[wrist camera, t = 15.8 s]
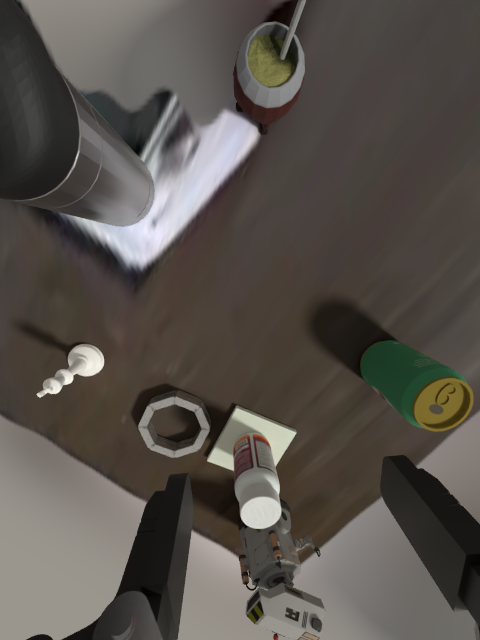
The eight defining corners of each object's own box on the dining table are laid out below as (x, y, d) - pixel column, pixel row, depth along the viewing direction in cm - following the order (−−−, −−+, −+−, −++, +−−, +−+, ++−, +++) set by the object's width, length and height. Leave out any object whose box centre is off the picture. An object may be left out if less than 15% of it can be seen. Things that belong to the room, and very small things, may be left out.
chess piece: (110, 365, 39) (72, 403, 29) (83, 379, 39) (35, 421, 29) (91, 338, 37) (44, 367, 28) (63, 353, 38) (6, 387, 28)
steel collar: (135, 433, 42) (130, 442, 40) (159, 381, 40) (155, 388, 38) (192, 455, 43) (191, 464, 41) (219, 406, 41) (218, 413, 39)
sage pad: (207, 457, 44) (207, 460, 43) (236, 404, 41) (236, 407, 41) (264, 478, 45) (265, 482, 44) (295, 429, 43) (296, 432, 42)
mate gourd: (236, 141, 32) (243, 48, 18) (228, 64, 30) (230, -113, 16) (295, 135, 32) (351, 38, 18) (292, 58, 30) (352, -123, 16)
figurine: (275, 547, 50) (295, 669, 35) (232, 517, 47) (234, 634, 33) (310, 519, 48) (346, 634, 34) (267, 486, 46) (286, 595, 31)
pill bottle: (233, 463, 43) (235, 534, 32) (232, 431, 42) (235, 495, 31) (269, 461, 43) (284, 531, 32) (270, 429, 42) (286, 492, 31)
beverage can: (347, 373, 41) (395, 421, 29) (374, 329, 39) (436, 362, 28) (388, 392, 42) (450, 444, 30) (416, 350, 40) (492, 389, 29)
